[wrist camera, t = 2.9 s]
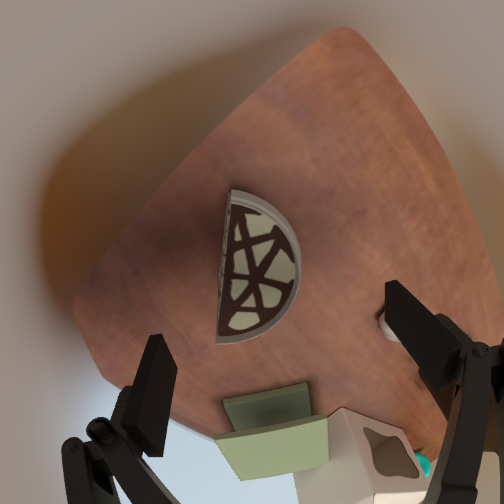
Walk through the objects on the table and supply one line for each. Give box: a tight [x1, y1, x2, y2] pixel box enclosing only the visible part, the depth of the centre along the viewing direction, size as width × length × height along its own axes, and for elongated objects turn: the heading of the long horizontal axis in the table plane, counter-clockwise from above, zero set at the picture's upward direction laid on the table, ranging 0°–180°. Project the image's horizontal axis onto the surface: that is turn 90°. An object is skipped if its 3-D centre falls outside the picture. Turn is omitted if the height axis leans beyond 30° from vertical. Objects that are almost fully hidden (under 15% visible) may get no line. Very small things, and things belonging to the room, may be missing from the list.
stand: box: [214, 382, 329, 481], centre depth 37 cm, size 14×14×8 cm
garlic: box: [379, 311, 401, 343], centre depth 33 cm, size 6×5×5 cm
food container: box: [216, 189, 302, 344], centre depth 26 cm, size 12×6×10 cm, turn 172°
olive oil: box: [419, 369, 499, 456], centre depth 29 cm, size 11×11×25 cm
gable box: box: [293, 407, 430, 504], centre depth 33 cm, size 22×13×28 cm, turn 52°
